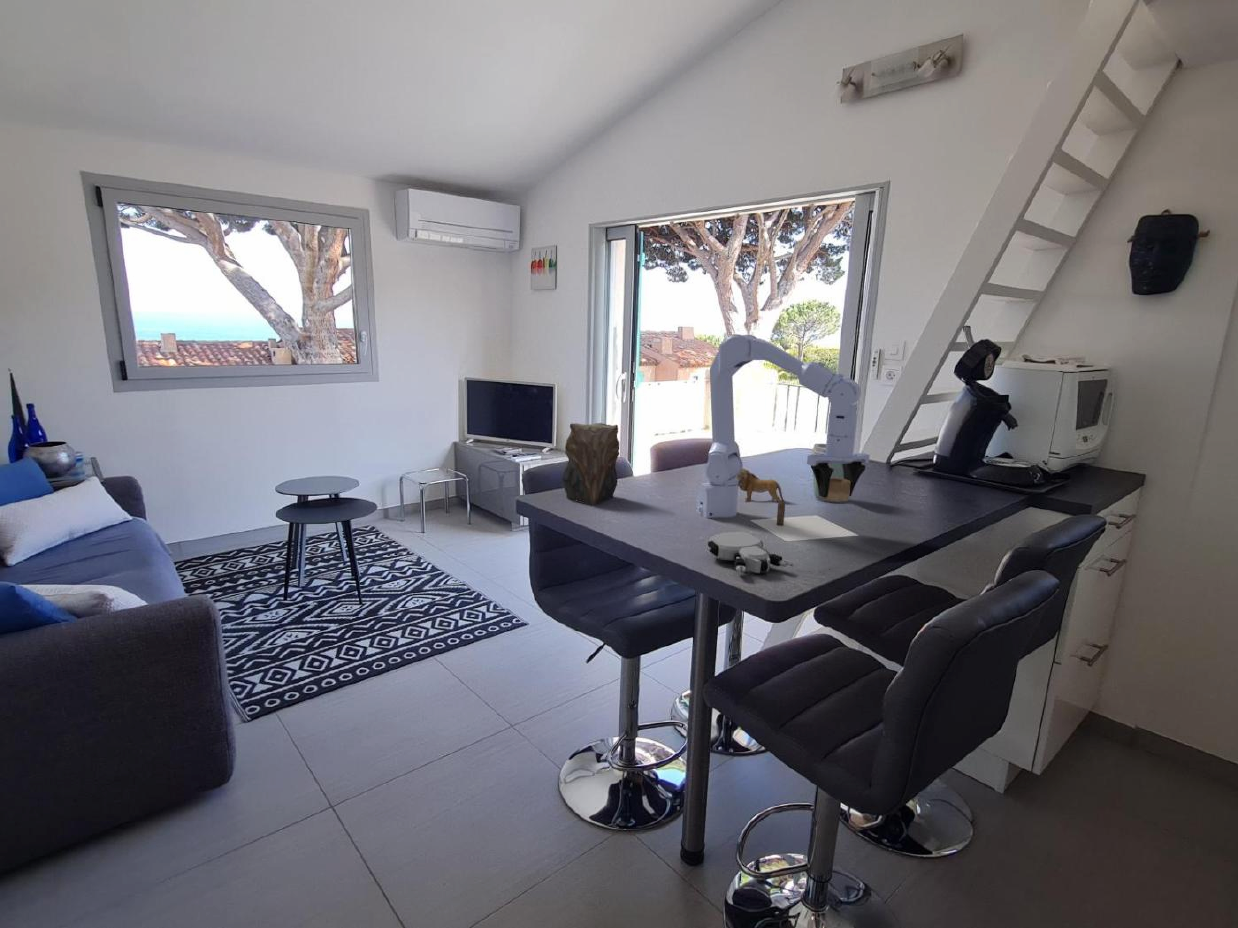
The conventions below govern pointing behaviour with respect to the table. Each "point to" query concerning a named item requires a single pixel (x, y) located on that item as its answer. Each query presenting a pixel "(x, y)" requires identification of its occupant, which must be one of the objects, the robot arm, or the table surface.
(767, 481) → the lion figurine
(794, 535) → the white flat rectangular panel
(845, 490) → the oak bead
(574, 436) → the owl
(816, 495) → the disposable coffee cup
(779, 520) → the rod
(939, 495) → the table surface
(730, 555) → the robot toy
